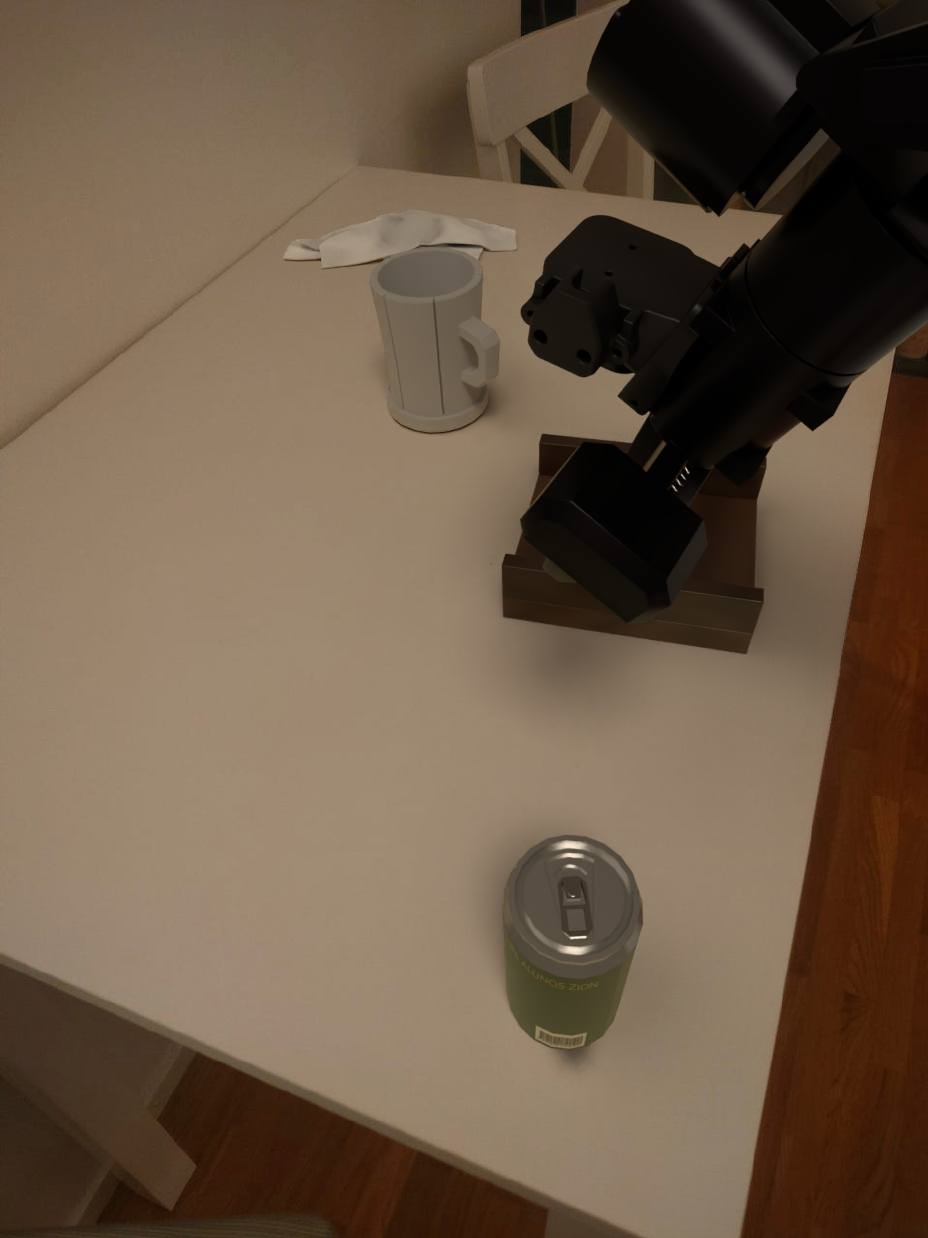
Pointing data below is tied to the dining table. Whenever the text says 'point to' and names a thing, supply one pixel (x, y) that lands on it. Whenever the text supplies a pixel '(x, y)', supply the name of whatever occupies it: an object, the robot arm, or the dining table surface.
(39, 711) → the dining table surface
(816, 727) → the dining table surface
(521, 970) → the beer can
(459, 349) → the cup
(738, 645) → the rack
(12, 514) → the dining table surface
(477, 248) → the cloth
